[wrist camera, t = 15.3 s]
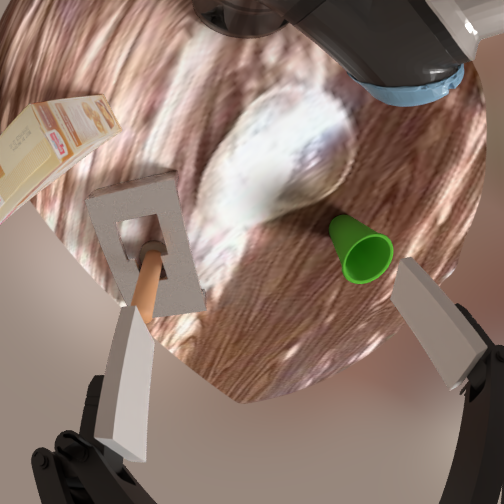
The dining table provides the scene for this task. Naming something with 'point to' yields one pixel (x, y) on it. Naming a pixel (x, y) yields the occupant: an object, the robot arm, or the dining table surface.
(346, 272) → the cup
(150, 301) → the headed peg
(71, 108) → the coffeecake box
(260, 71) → the dining table surface
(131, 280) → the keyhole plate
